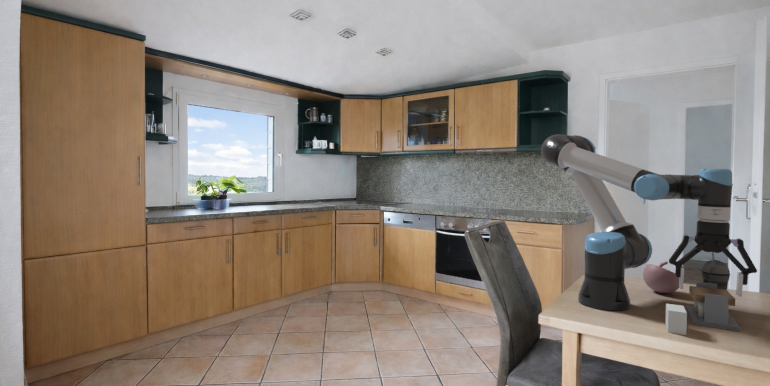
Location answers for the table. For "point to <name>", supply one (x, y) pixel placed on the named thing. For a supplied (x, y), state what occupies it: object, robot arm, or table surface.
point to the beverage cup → (716, 273)
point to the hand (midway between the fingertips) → (709, 291)
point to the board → (699, 293)
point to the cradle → (712, 310)
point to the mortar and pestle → (660, 278)
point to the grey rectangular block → (676, 319)
